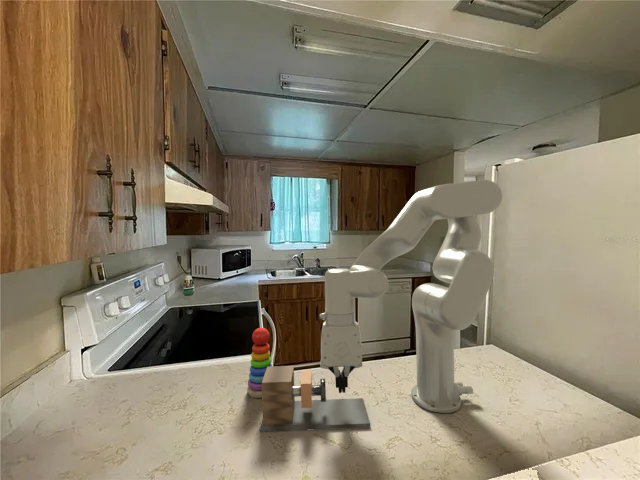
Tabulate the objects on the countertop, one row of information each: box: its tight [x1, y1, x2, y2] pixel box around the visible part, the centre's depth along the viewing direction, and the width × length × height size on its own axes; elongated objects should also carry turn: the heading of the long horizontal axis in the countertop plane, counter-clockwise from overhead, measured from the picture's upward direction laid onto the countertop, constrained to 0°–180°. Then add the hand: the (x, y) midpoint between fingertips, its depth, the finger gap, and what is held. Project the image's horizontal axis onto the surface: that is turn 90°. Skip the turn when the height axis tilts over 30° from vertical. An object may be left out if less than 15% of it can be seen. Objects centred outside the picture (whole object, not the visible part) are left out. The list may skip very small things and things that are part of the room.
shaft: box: [292, 378, 327, 402], centre depth 69 cm, size 16×5×5 cm, turn 91°
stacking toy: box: [246, 327, 273, 399], centre depth 81 cm, size 8×8×19 cm
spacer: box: [300, 369, 313, 408], centre depth 69 cm, size 2×6×6 cm, turn 1°
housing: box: [259, 365, 371, 433], centre depth 70 cm, size 26×10×11 cm, turn 91°
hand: (341, 389), depth 70 cm, fingers closed
